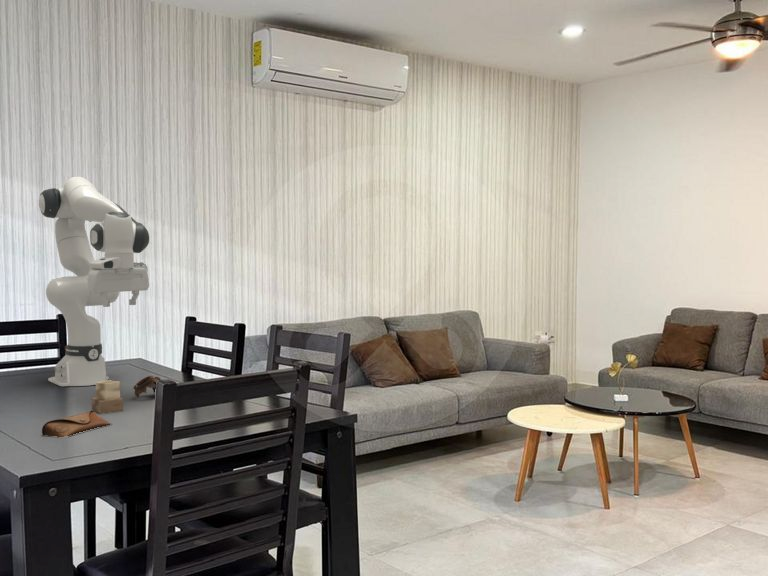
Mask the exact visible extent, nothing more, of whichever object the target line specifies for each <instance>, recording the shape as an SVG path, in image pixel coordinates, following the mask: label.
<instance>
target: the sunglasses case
mask: <svg viewBox="0 0 768 576" xmlns="http://www.w3.org/2000/svg"><path fill="white" fill-rule="evenodd" d="M110 424H112V423H110V422H108V421H107V420H105V419H104V418H102V417H101V416H99V415H98V413H96V412H95V411H92V410H89V411H87V412H84V413H79V414H76V415H70V416H67V417H64V418H60V419H59V418H58V419H53V420H50V421H47V422H45V423H44V424H43V426H42V428H41V433H42V436H43V435H48V436H47V437H51V436H57V437H56V438H59V437H64V436H70V435H73V434H76V433H79V432H83V431H86V430H90V429H94V428H97V427H101V428H103V427H102V426H105V427H107V426H106V425H109V426H111V425H110ZM97 429H98V428H97ZM94 430H95V429H94ZM90 431H91V430H90ZM83 433H84V432H83ZM73 436H74V435H73ZM70 437H71V436H70Z"/></svg>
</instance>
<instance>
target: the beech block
mask: <svg viewBox="0 0 768 576" xmlns="http://www.w3.org/2000/svg"><path fill="white" fill-rule="evenodd" d="M95 398H96V399H101V400H111V399H117V398H121V381H119V380H118V381H117V380H112V379H109V380H106V381H101V382H96V385H95Z"/></svg>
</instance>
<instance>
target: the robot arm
mask: <svg viewBox="0 0 768 576" xmlns="http://www.w3.org/2000/svg"><path fill="white" fill-rule="evenodd" d="M38 207H39V210H40V213H41V214H42V215H43V217H46V218H49V219H56V221H55V223H54V224H55V225H54V234H55V244H56V248H57V252H58V256H59V261H60V264H61V265H62V267H63V269H66V270H67V271H69V272H71V273H73V274H75V276H73V275H72V276H71V275H69V276H62V277H58V278H57V277H56V278H53V279H51V280H50V281H49V282H48V284H47V285H46V290H45V297H46V298H47V301H48V302H49V303H50V304H51V305H52V306H53V307H54V308H56V309H57V310H58V311H59V312H60V313H61V315H62V316H63V318H64V320H65V323H66V329H67V330H66V331H67V345H65V346H64V350H65V353H64V354H65V355H64V356H63V357H62V358H61V359H60V360H59V361H58V362H57V363H56V365H55V367H54V376H52V377H48V379H47V380H48V382H50V383H52V384H54V385H57V386H59V387H84V386H85V387H87V386H94V385H95V386H96V382H101V381H106V380H108V379H109V380H110V377H109V376H108V375H107V370H106V359H105V357H103V355H102V354H103V344H102V343H101V341H102V340H101V339H102V338H101V323H100V321H99V320H98V319H96V318H95V317H93V316H91V315H89V314H88V313H87V312H86V307H93V306H94V307H95V306H102V307H103V308H107V307H109V308H110V307H111V304H112V303H114V302H116V301H117V299H118V298H119V295H120V292H121V293H122V292H131V294H132V296H131V298H130V299H128V302H129V303H128V305H129V306H136V305H137V299H138V297H139V296H140V292H141V291H148V290H149V288H150V281H149V279H150V278H149V273H148V272H149V271H148V266H147V265H146V264H145V263H144V262H141V261H140V262H135V260H134V258H135V254H141V252H143V251H145V249H146V248H147V247H148V245H149V243H150V234H149V231H148V229H147V227H145V225H144V224H143V223H141V222H138V221H136V219H134V218H133V217H132V216H131V215H130V214H129V213H128V212H127V211H126V210H125V209H124V208H123V207H122V206H120V205H119V204H118V203H115V202H113V201H112V200H110V199H109V198H107V197H106V196H105V195H103V194H102V193H101V192H100V191H99V190H98V189H97V188H96V186H95V185H94V184H93V183H92V182H90V181H89V180H88V179H87V178H85V177H82V176H73V177H71V178H69V179H68V180H66V182H65V183H64V185H63V187H61V188H60V187H59V188H56V187H53V188H52V187H51V188H48V189H45V190H43V191H42V192H41V193H40V194H39V199H38ZM86 221H88V222H90V223H91V222H96V224H95V225H93V226H92V228H91V229H90V231H89V236H88V234H87V231H86V226H85V225H86V224H85V223H86ZM88 237H89V238H90V241H89V238H88ZM91 246H92V247H93V249H95V250H96V251H97V252H101V253H102V252H103V253H104V257H101V258H98V259H96V260H95V258H94V256H93V252H92V249H91Z"/></svg>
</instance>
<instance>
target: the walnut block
mask: <svg viewBox="0 0 768 576" xmlns="http://www.w3.org/2000/svg"><path fill="white" fill-rule="evenodd" d="M92 410H93V411H94V412H95V411H96V412H95V413H97V412H98V413H97V414H99V413H100V414H99V415H103V414H102V413H105V414H110V413H109V412H112V413H117V412H118V411H119V412H124V398H123V397H120V398H117V399H111V400H101V399H96V397H91V411H92Z"/></svg>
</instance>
